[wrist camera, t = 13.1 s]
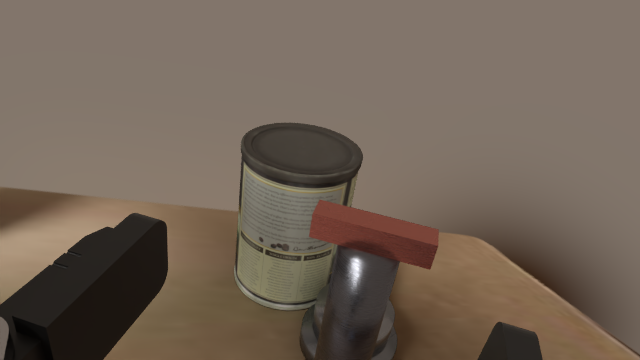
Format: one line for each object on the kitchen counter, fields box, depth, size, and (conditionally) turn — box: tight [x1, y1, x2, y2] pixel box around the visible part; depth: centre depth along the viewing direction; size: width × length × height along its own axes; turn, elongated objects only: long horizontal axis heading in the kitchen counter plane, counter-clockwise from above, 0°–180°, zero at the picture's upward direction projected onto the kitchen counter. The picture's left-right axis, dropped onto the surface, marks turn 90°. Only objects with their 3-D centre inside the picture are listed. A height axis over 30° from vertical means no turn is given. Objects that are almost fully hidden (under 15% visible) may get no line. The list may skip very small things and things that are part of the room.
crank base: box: [300, 303, 397, 360], centre depth 38 cm, size 8×8×2 cm
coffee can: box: [234, 123, 363, 310], centre depth 41 cm, size 10×10×14 cm
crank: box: [309, 200, 438, 360], centre depth 33 cm, size 20×6×16 cm, turn 166°
